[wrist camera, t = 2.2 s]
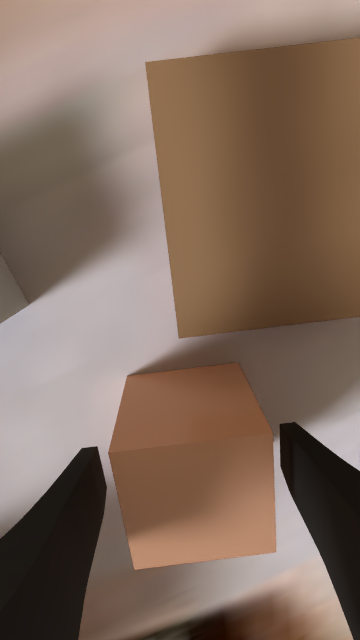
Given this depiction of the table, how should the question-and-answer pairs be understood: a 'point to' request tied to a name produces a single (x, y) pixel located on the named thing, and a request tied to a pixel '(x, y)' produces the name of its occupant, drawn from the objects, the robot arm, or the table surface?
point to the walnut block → (260, 184)
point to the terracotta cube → (193, 467)
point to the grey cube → (9, 293)
